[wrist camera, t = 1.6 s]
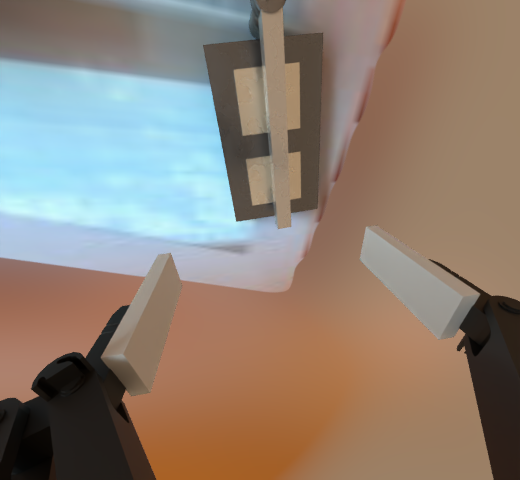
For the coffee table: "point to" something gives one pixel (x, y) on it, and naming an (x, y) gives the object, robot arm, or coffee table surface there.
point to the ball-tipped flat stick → (275, 102)
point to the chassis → (255, 121)
